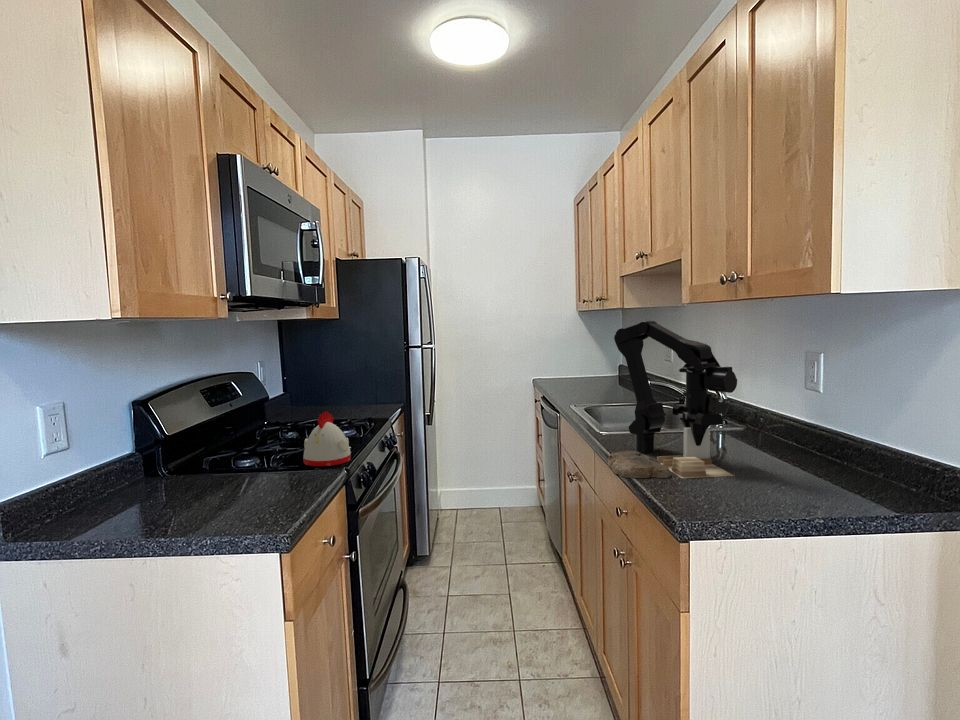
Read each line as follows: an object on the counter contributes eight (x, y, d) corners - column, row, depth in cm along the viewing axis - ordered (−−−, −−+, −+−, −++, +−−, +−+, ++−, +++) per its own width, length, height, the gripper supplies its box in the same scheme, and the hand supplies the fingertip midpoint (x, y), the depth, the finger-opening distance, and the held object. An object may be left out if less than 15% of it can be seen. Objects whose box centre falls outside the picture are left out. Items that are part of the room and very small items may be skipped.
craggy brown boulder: (600, 463, 159) (617, 481, 139) (600, 446, 158) (617, 462, 138) (648, 463, 159) (672, 482, 139) (648, 446, 158) (673, 463, 138)
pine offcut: (672, 462, 144) (672, 457, 144) (694, 461, 145) (694, 456, 145) (681, 467, 139) (681, 462, 139) (704, 466, 140) (704, 461, 139)
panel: (683, 459, 153) (683, 427, 153) (706, 458, 154) (706, 426, 153) (686, 461, 151) (686, 428, 151) (709, 460, 152) (709, 428, 151)
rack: (653, 463, 156) (653, 455, 156) (701, 461, 157) (701, 453, 157) (681, 481, 138) (681, 472, 138) (735, 478, 139) (735, 470, 139)
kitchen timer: (294, 465, 162) (292, 415, 161) (318, 454, 175) (316, 408, 174) (337, 467, 159) (335, 416, 158) (358, 455, 172) (356, 408, 171)
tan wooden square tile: (671, 470, 145) (671, 466, 145) (694, 469, 145) (694, 465, 145) (681, 476, 139) (681, 472, 139) (705, 475, 139) (705, 471, 139)
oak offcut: (672, 466, 145) (672, 461, 144) (694, 465, 145) (694, 460, 145) (681, 472, 139) (681, 467, 139) (705, 471, 139) (705, 466, 139)
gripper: (743, 392, 142) (742, 451, 144) (708, 384, 161) (707, 436, 162) (702, 394, 142) (701, 453, 143) (671, 385, 160) (671, 438, 161)
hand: (696, 444), depth 152 cm, fingers closed on panel, 2 cm apart
